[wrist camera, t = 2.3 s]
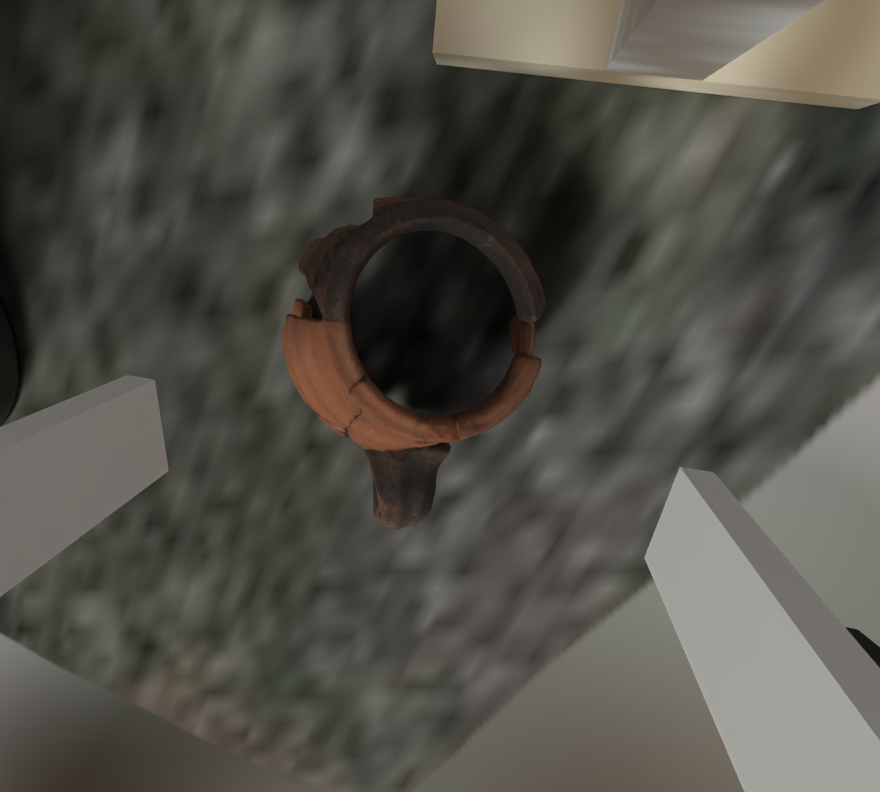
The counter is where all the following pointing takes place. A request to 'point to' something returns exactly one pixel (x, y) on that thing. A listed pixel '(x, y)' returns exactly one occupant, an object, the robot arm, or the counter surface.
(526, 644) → the counter surface
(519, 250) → the pottery mug
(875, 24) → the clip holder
